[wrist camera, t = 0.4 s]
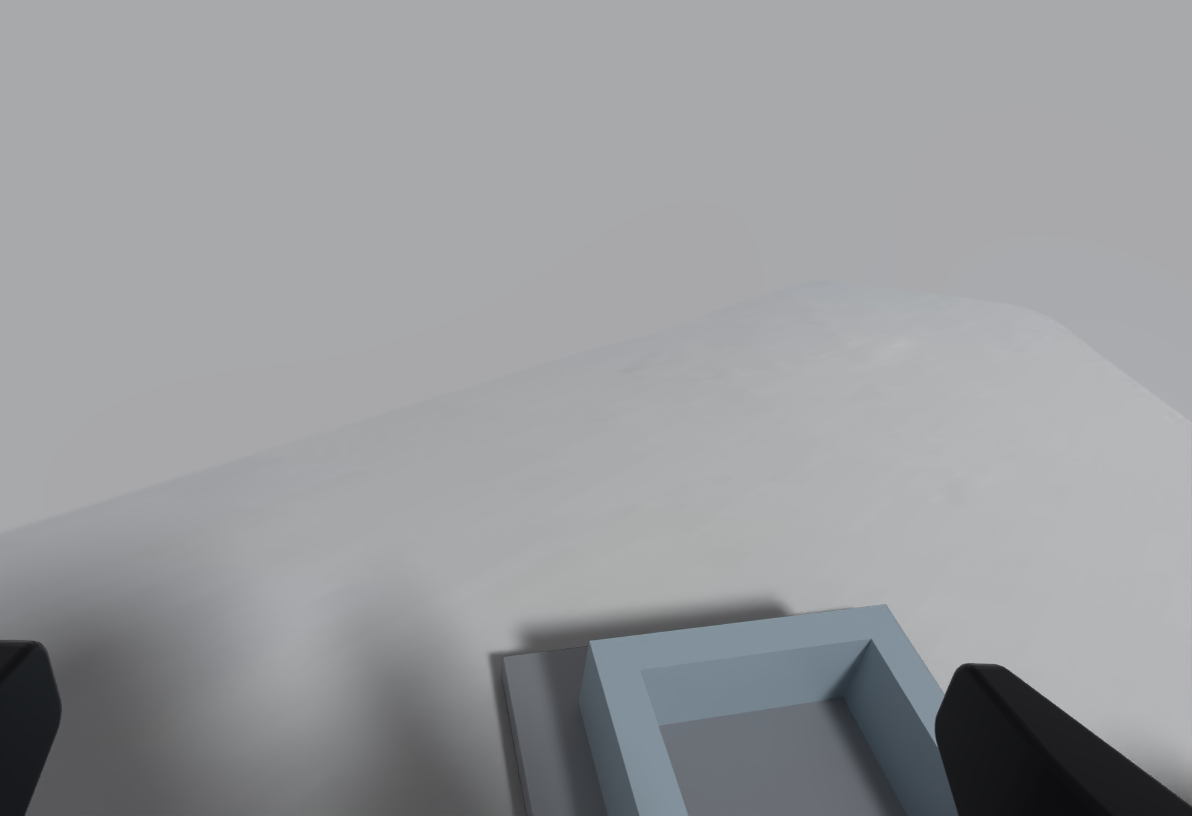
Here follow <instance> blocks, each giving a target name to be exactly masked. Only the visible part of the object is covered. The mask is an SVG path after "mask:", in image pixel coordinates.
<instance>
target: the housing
mask: <svg viewBox="0 0 1192 816" xmlns="http://www.w3.org/2000/svg"><path fill="white" fill-rule="evenodd" d="M502 680H503V685H504V691H505V696H506V702H507V708H508V713H509V719H510V724H511V730H512V735H513V741H514V746H515V752H516V758H517V763H518V769H519V774H520V780H521V785H522V791H523V797H524V802H525V808H526V813H527V816H958V813H957V810H956V807H955V803H954V800H953V797H952V793H951V790H950V786H949V783H948V780H947V776H946V773H945V770H944V766H943V763H942V759H941V756H940V753H939V749H938V746H937V742H936V738H935V718H936V715H937V712H938V710H939V707H940V705H941V703H942V700H943V698H944V696H945V694H944V693H943V691H942V690H941V688H940V687H939V685H938V684H937V682H936V680H935V679H934V677H933V676H932V674H931V673H930V671H929V670H928V668H927V667H926V665H925V664H924V662H923V660H922V659H921V657H920V656H919V654H918V653H917V651H916V650H915V648H914V647H913V645H912V644H911V642H910V640H909V639H908V637H907V636H906V634H905V633H904V631H903V630H902V628H901V627H900V625H899V624H898V622H897V620H896V619H895V617H894V616H893V614H892V613H891V611H890V610H889V608H888V607H887V605H886V604H884V605H876V606H867V607H859V608H851V609H843V610H835V611H827V612H819V613H811V614H803V615H795V616H787V617H778V618H770V619H762V620H754V621H746V622H738V623H730V624H722V625H714V626H706V627H698V628H689V629H681V630H673V631H665V632H657V633H649V634H641V635H633V636H625V637H617V638H609V639H600V640H592V641H589V646H586V647H578V648H570V649H562V650H554V651H546V652H538V653H530V654H522V655H514V656H506V657H503V667H502Z"/></svg>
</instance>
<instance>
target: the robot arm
mask: <svg viewBox="0 0 1192 816" xmlns="http://www.w3.org/2000/svg"><path fill="white" fill-rule="evenodd" d="M61 712H62V708H61V699H60V695H59V692H58V688H57V684H56V681H55V677H54V674H53V670H52V666H51V663H50V659H49V655H48V652H47V650H46V648H45V647H44V646H43V645H42V644H41V643H40V642H36V641H26V640H0V816H25V814H26V811H27V809H28V806H29V804H30V801H31V798H32V796H33V793H34V791H35V788H36V785H37V783H38V780H39V778H40V775H41V772H42V770H43V767H44V765H45V762H46V759H47V757H48V754H49V752H50V749H51V746H52V744H53V741H54V739H55V736H56V733H57V731H58V728H59V724H60V720H61ZM935 738H936V742H937V746H938V749H939V753H940V756H941V759H942V763H943V766H944V770H945V773H946V776H947V780H948V783H949V786H950V790H951V793H952V797H953V800H954V803H955V807H956V810H957V813H958V816H1192V806H1190V805H1189V804H1188V803H1186V802H1185V801H1184V800H1182V799H1181V798H1180V797H1178V796H1177V795H1176V794H1174V793H1173V792H1172V791H1170V790H1169V789H1168V788H1166V787H1165V786H1164V785H1162V784H1161V783H1160V782H1158V781H1157V780H1155V779H1154V778H1153V777H1151V776H1150V775H1149V774H1147V773H1146V772H1145V771H1143V770H1142V769H1141V768H1139V767H1138V766H1137V765H1135V764H1134V763H1133V762H1131V761H1130V760H1129V759H1127V758H1126V757H1125V756H1123V755H1122V754H1121V753H1119V752H1118V751H1117V750H1115V749H1114V748H1113V747H1111V746H1110V745H1108V744H1107V743H1106V742H1104V741H1103V740H1102V739H1100V738H1099V737H1098V736H1096V735H1095V734H1094V733H1092V732H1091V731H1090V730H1088V729H1087V728H1086V727H1084V726H1083V725H1082V724H1080V723H1079V722H1078V721H1076V720H1075V719H1074V718H1072V717H1071V716H1070V715H1068V714H1067V713H1066V712H1064V711H1063V710H1061V709H1060V708H1059V707H1057V706H1056V705H1055V704H1053V703H1052V702H1051V701H1049V700H1048V699H1047V698H1045V697H1044V696H1043V695H1041V694H1040V693H1039V692H1037V691H1036V690H1035V689H1033V688H1032V687H1031V686H1029V685H1028V684H1027V683H1025V682H1024V681H1023V680H1021V679H1020V678H1019V677H1017V676H1016V675H1014V674H1013V673H1012V672H1010V671H1009V670H1008V669H1006V668H1005V667H1003V666H1000V665H996V664H976V663H966V664H962V665H961V666H960V667H959V668H957V669H956V671H955V673H954V675H953V677H952V679H951V682H950V684H949V686H948V689H947V691H946V693H945V696H944V698H943V700H942V703H941V705H940V707H939V710H938V712H937V715H936V718H935Z"/></svg>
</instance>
